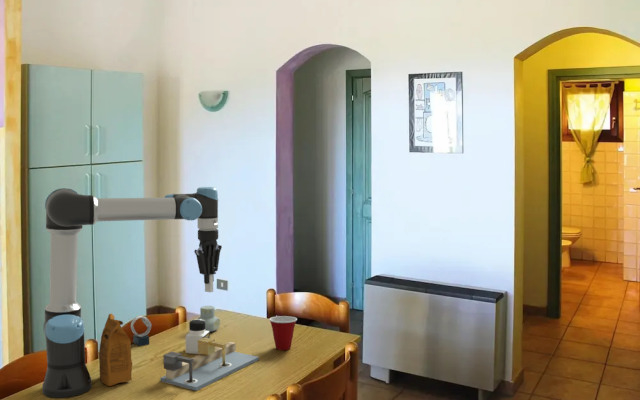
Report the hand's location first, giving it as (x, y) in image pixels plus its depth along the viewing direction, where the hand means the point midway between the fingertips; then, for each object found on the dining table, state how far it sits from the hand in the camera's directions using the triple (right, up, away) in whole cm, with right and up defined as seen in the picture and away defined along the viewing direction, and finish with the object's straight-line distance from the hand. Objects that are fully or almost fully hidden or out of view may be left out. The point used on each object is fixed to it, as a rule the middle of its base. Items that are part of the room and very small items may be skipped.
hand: (209, 291), depth 251 cm
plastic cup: (+27, -24, +11) cm, 38 cm away
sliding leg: (+3, -24, -10) cm, 26 cm away
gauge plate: (+3, -26, -13) cm, 29 cm away
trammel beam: (+2, -25, -11) cm, 27 cm away
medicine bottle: (-5, -24, +7) cm, 26 cm away
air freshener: (-6, -21, +33) cm, 40 cm away
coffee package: (-28, -27, -22) cm, 45 cm away
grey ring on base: (-29, -23, +16) cm, 41 cm away
